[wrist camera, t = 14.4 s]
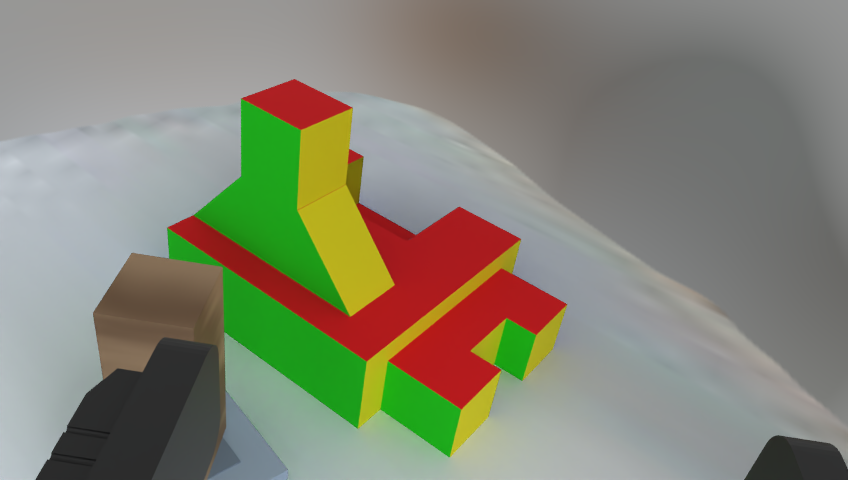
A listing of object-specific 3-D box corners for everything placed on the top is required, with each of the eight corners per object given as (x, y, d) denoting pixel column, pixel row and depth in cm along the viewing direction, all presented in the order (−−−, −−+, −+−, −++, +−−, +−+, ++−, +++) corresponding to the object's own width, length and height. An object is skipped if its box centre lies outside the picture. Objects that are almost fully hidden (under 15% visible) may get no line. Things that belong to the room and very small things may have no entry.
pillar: (149, 415, 45) (131, 253, 38) (226, 426, 45) (222, 267, 38) (119, 479, 41) (92, 313, 34) (202, 492, 41) (193, 328, 34)
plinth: (212, 413, 51) (210, 369, 48) (285, 511, 45) (288, 468, 43) (72, 478, 45) (63, 433, 43) (138, 598, 40) (131, 554, 38)
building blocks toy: (427, 482, 49) (479, 256, 38) (172, 296, 59) (156, 78, 49) (565, 336, 62) (633, 138, 51) (336, 205, 72) (352, 18, 62)
